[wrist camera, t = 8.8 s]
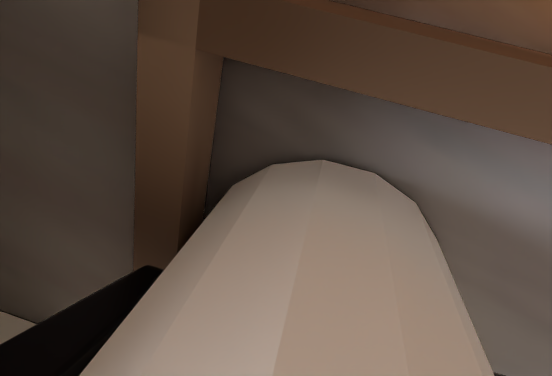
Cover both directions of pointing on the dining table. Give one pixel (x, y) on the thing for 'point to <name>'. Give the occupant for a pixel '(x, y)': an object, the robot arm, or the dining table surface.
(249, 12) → the tray
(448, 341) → the white tapered cup
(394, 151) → the dining table surface
